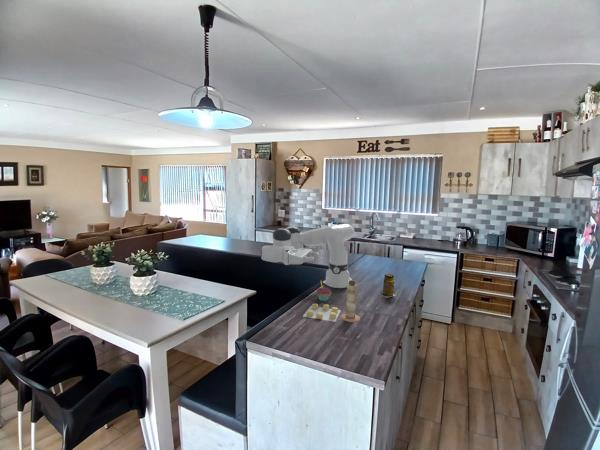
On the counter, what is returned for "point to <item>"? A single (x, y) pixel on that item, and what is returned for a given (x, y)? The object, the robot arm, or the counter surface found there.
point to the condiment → (388, 286)
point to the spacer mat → (322, 312)
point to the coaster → (350, 319)
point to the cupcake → (323, 293)
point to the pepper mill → (351, 300)
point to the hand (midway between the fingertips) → (316, 256)
